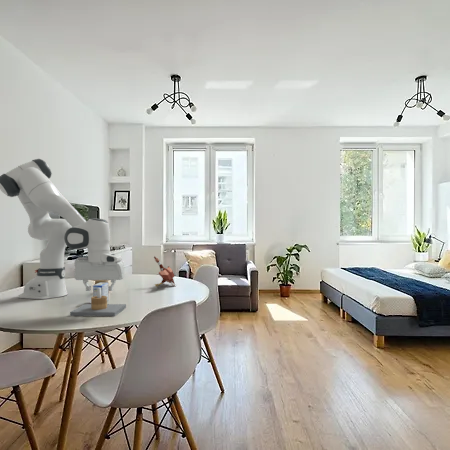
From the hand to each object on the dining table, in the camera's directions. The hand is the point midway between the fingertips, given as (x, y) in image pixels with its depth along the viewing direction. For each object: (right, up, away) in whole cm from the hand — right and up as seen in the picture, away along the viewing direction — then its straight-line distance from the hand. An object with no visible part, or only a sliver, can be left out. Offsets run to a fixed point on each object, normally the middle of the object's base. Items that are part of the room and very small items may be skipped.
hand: (99, 290), depth 150 cm
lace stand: (0, -9, 0) cm, 9 cm away
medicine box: (-5, -9, +17) cm, 20 cm away
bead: (0, -7, 0) cm, 7 cm away
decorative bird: (+17, -8, +58) cm, 61 cm away
